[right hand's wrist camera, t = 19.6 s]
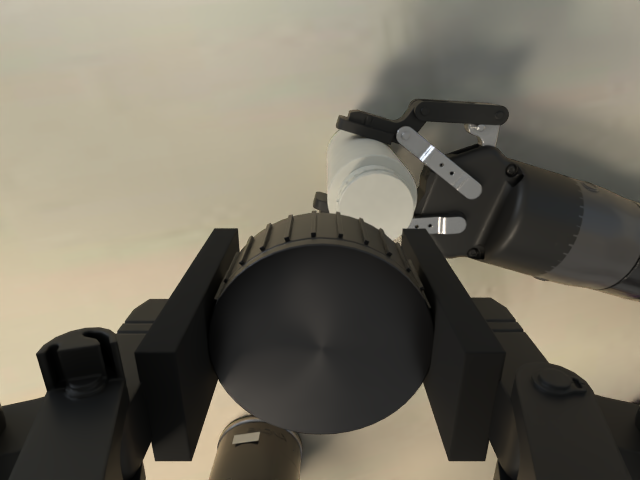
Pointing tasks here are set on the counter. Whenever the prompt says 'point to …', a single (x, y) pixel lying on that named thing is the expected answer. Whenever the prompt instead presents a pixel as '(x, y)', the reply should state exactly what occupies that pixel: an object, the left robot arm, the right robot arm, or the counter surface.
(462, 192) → the left robot arm
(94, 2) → the counter surface
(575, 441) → the right robot arm
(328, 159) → the jar
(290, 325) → the lid
